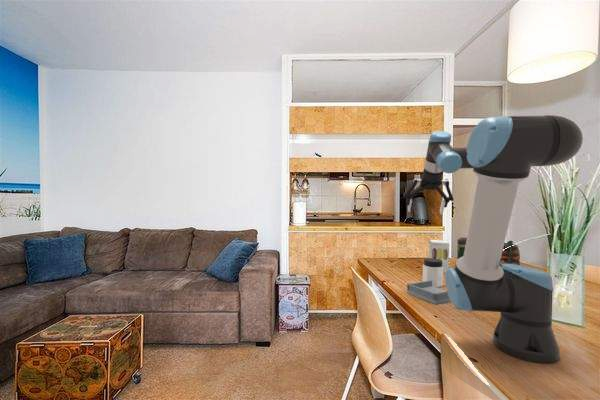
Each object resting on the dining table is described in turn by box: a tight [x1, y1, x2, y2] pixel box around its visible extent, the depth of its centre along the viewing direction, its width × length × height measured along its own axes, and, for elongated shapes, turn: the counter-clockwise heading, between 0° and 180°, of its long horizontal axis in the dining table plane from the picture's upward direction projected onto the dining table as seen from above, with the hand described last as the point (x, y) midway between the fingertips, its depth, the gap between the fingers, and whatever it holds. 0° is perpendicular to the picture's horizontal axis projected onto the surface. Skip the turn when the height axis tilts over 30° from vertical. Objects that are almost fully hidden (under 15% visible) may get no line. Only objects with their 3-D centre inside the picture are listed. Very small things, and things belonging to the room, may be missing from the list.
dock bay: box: [406, 280, 451, 305], centre depth 130 cm, size 15×14×4 cm
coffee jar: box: [456, 237, 467, 260], centre depth 173 cm, size 10×8×19 cm
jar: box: [422, 257, 444, 288], centre depth 146 cm, size 9×8×12 cm
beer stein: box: [499, 240, 521, 267], centre depth 162 cm, size 19×15×20 cm
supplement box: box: [428, 239, 450, 274], centre depth 173 cm, size 10×9×17 cm
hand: (424, 211), depth 136 cm, fingers open, 13 cm apart
